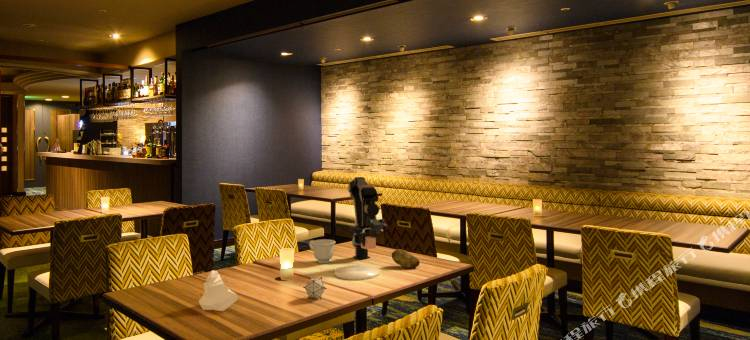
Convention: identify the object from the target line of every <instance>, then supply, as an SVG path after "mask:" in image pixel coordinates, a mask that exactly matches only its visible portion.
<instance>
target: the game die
mask: <svg viewBox="0 0 750 340" xmlns="http://www.w3.org/2000/svg"><path fill="white" fill-rule="evenodd" d="M322 279H323V276H321V277H320V278H311V277H309V276H308V281H307V283H306V285H305V286H303V287H302V288H303V289H305V291H306V295H307V300H309V299H310V298H318V299H320V300H322V295H323V293H324V291H325V290H327V289H328V288H327V287H326V286H325V285H324V283H323V280H322Z"/></svg>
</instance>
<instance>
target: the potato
mask: <svg viewBox="0 0 750 340" xmlns="http://www.w3.org/2000/svg"><path fill="white" fill-rule="evenodd" d="M391 258H392V260H393V262H394V263H396V264H397V265H398V266H400V267H402V268H404V269H414V268H417V267H419V266H420V262H421V261H420V259H419V258H418V257H416V256H415V255H413V254H411V253H409V252H408V251H406V250H405V249H402V248H401V249H400V248H398V249H395V250H393V252H392V253H391Z"/></svg>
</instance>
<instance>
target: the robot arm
mask: <svg viewBox="0 0 750 340" xmlns="http://www.w3.org/2000/svg"><path fill="white" fill-rule="evenodd" d="M347 191H348V193H349V197H350V199H352V201H353V206H354V216H355V224H356V225H355V224H354V225H350V226H349V228H348V232H349V233H352V234H353V236H352V239H351V243H352V244H351V245H352V246H353V248H355V251H354V252H355V255H353V256H352V258H354V259H357V260H364V259H370V258H371V256H370V255H369V249H364V248H361V243H362V245H363V246H365V237H367V236H371V237H375V238H376V239H377V237H378V235H379V233H381V232H382V230H388V225H387V224H386V221H385V219H384V218H381V219H377V215H378V214H379V213H380V207H379V205H378V204H376V203H377V202H378V203H379V194H378V191H377V189H376V188H375V186H374V185H369V184H368V182H367V181H366V178H365V177H363V176H357V177H354V178H353V180H351V181H350V182H349V183H348V187H347Z"/></svg>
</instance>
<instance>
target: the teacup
mask: <svg viewBox="0 0 750 340" xmlns="http://www.w3.org/2000/svg"><path fill="white" fill-rule="evenodd" d="M335 244H336V241H335V240H334V239H322V238H321V239H316V240H310V241H309V242H308V246H309V248H310V250H312V252H313V256H314V259H315V260H317V264H327V263H330V260H331V259H332V258H333V257H334V248H335V247H334V246H335Z"/></svg>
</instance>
